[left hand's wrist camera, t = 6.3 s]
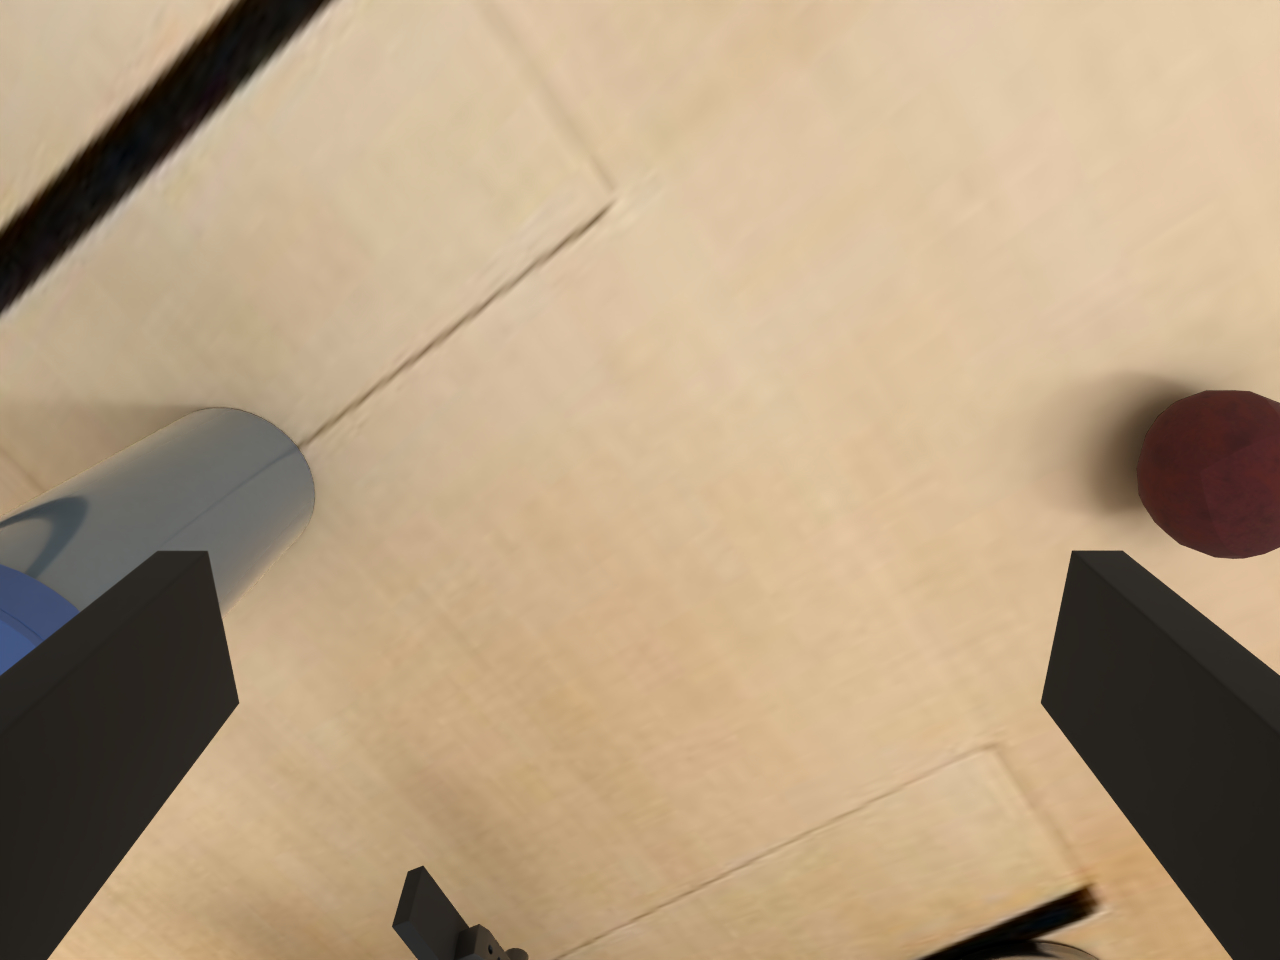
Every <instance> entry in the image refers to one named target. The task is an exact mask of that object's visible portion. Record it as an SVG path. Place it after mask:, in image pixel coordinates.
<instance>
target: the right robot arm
mask: <svg viewBox="0 0 1280 960" xmlns="http://www.w3.org/2000/svg"><path fill="white" fill-rule="evenodd" d="M392 927H393V929H394V930H395V931H396V932H397V934H398V935H399V936H400V937H401V939H402V940H403V941H404V942H405V944H406V945H407V946H408V948H409V949H410V950H411V951H412V953H413V954H414V955H415V956H416V958H417V959H418V960H528V954H527V953H526V952H525V951H524V950H522V949H519V948H512V949H509V950H507V951H506V952H504V950H503V949H502V948H501V946H499V943H498V942H497V941H496V940H495V938H494V937H493V935H492V934H491V932H490V931H489V930H488V929H486V928H485V927H483V926H481V925H480V924H478V925H476V926H473V927H470V928H469V927H468V925H467V924H466V923H465V921H464V920H463V919H462V917H461V916H460V915H459V913H458V912H457V910H456V909H455V908H454V906H453V905H452V904H451V902H450V901H449V900H448V898H447V897H446V896H445V894H444V893H443V892H442V890H441V889H440V888H439V886H438V885H437V884H436V882H435V881H434V879H433V878H432V877H431V875H430V874H429V873H428V871H427V870H426V869H425V867H424V866H421V867H418V868H416V869H413V870H411V871H408V873H407V876H406V880H405V883H404V887H403V890H402V894H401V897H400V901H399V904H398V908H397V911H396V915H395V918H394V922H393V925H392ZM958 960H1098V959H1096V958H1095V957H1093V956H1091V955H1089V954H1087V953H1085V952H1082V951H1080V950H1077V949H1074V948H1070V947H1067V946H1062V945H1057V944H1050V943H1037V942H1028V943H1013V944H1006V945H1000V946H995V947H991V948H987V949H983V950H980V951H977V952H974V953H972V954H969V955H966V956H964V957H962V958H960V959H958Z"/></svg>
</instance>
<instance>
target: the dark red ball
mask: <svg viewBox="0 0 1280 960" xmlns="http://www.w3.org/2000/svg"><path fill="white" fill-rule="evenodd" d="M1137 478H1138V491H1139V496H1140V498H1141V500H1142V503H1143V505H1144V506H1145V508H1146V509H1147V511H1148V512H1149V514H1150V516H1151V517H1152V519H1153V520H1154V522H1155V523H1156V524H1157V525H1158V526H1159V527H1161V528H1162V529H1163V530H1164V531H1165V532H1166V533H1167V534H1168V535H1169V536H1171V537H1172V538H1173V539H1174V540H1176V541H1177V542H1178V543H1179V544H1181V545H1184V546H1186V547H1189V548H1191V549H1194V550H1197V551H1199V552H1202V553H1205V554H1207V555H1210V556H1213V557H1218V558H1231V559H1238V558H1248V557H1253V556H1257V555H1262V554H1265V553H1268V552H1270V551H1272V550H1275V549H1277V548H1279V547H1280V403H1278V402H1276V401H1273V400H1271V399H1268V398H1266V397H1263V396H1261V395H1258V394H1256V393H1253V392H1250V391H1236V390H1224V391H1204V392H1201V393H1198V394H1195V395H1192V396H1189V397H1187V398H1184V399H1181V400H1179V401H1177V402H1175V403H1174V404H1172V405H1171V406H1170V407H1169V408H1168V409H1166V410H1165V411H1164V412H1163V413H1161V414H1160V415H1159V416H1158V417H1157V419H1156V420H1155V422H1154V423H1153V425H1152V426H1151V428H1150V429H1149V431H1148V432H1147V434H1146V437H1145V440H1144V444H1143V447H1142V451H1141V454H1140V458H1139V461H1138V466H1137Z"/></svg>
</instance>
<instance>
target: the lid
mask: <svg viewBox="0 0 1280 960" xmlns="http://www.w3.org/2000/svg"><path fill="white" fill-rule="evenodd" d="M78 613H80V611H79V610H78V609H77V608H76V607H75V606H74V605H73V604H71V603H70V602H69V601H67V600H66V599H65V598H64V597H62V596H61V595H60V594H58V593H57V592H56V591H54V590H53V589H51V588H49V587H48V586H46V585H45V584H43V583H41V582H40V581H38V580H36V579H34V578H32V577H30V576H28V575H26V574H24V573H22V572H20V571H18V570H15V569H13V568H10V567H7V566H5V565H2V564H0V675H2V674H3V673H4V672H5V671H7V670H8V669H9V668H10V667H12V666H13V665H14V664H15V663H17V662H18V661H19V660H21V659H22V658H23V657H24V656H26V655H27V654H28V653H29V652H31V651H32V650H33V649H34V648H36V647H37V646H38V645H39V644H41V643H42V642H43V641H44V640H46V639H47V638H48V637H49V636H51V635H52V634H53V633H55V632H56V631H57V630H58V629H60V628H61V627H62V626H63V625H65V624H66V623H67V622H68V621H70V620H71V619H72V618H73V617H75V616H76V615H77V614H78Z"/></svg>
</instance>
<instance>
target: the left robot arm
mask: <svg viewBox="0 0 1280 960" xmlns="http://www.w3.org/2000/svg"><path fill="white" fill-rule="evenodd" d="M238 704H239V700H238V695H237V690H236V685H235V680H234V675H233V670H232V665H231V661H230V656H229V651H228V646H227V641H226V636H225V631H224V626H223V622H222V617H221V612H220V607H219V602H218V597H217V592H216V587H215V582H214V578H213V573H212V568H211V563H210V558H209V553H208V551H157V552H155V553H154V554H153V555H151V556H150V557H149V558H148V559H146V560H145V561H144V562H143V563H141V564H140V565H139V566H138V567H136V568H135V569H134V570H133V571H131V572H130V573H129V574H128V575H126V576H125V577H124V578H123V579H121V580H120V581H119V582H117V583H116V584H115V585H114V586H112V587H111V588H110V589H109V590H107V591H106V592H105V593H104V594H102V595H101V596H100V597H99V598H97V599H96V600H95V601H94V602H92V603H91V604H90V605H89V606H87V607H86V608H85V609H83V610H82V611H81V612H80V613H78V614H77V615H76V616H75V617H73V618H72V619H71V620H70V621H68V622H67V623H66V624H65V625H63V626H62V627H61V628H60V629H58V630H57V631H56V632H55V633H53V634H52V635H51V636H49V637H48V638H47V639H46V640H44V641H43V642H42V643H41V644H39V645H38V646H37V647H36V648H34V649H33V650H32V651H31V652H29V653H28V654H27V655H26V656H24V657H23V658H22V659H21V660H19V661H18V662H17V663H15V664H14V665H13V666H12V667H10V668H9V669H8V670H7V671H5V672H4V673H3V674H2V675H0V960H47V959H48V958H49V956H50V955H51V954H52V952H53V951H54V950H55V948H56V947H57V946H58V944H59V943H60V942H61V940H62V939H63V938H64V936H65V935H66V934H67V932H68V931H69V930H70V928H71V927H72V926H73V924H74V923H75V922H76V920H77V919H78V918H79V916H80V915H81V914H82V912H83V911H84V910H85V908H86V907H87V906H88V904H89V903H90V902H91V900H92V899H93V898H94V896H95V895H96V894H97V892H98V891H99V890H100V888H101V887H102V886H103V884H104V883H105V882H106V880H107V879H108V878H109V876H110V875H111V874H112V872H113V871H114V870H115V868H116V867H117V866H118V864H119V863H120V862H121V860H122V859H123V858H124V856H125V855H126V854H127V852H128V851H129V850H130V848H131V847H132V846H133V844H134V843H135V842H136V840H137V839H138V838H139V836H140V835H141V834H142V832H143V831H144V830H145V828H146V827H147V826H148V824H149V823H150V822H151V820H152V819H153V818H154V816H155V815H156V814H157V812H158V811H159V810H160V808H161V807H162V806H163V804H164V803H165V802H166V800H167V799H168V798H169V796H170V795H171V793H172V792H173V791H174V789H175V788H176V787H177V785H178V784H179V783H180V781H181V780H182V779H183V777H184V776H185V775H186V773H187V772H188V771H189V769H190V768H191V767H192V765H193V764H194V763H195V761H196V760H197V759H198V757H199V756H200V755H201V753H202V752H203V751H204V749H205V748H206V747H207V745H208V744H209V743H210V741H211V740H212V739H213V737H214V736H215V735H216V733H217V732H218V731H219V729H220V728H221V727H222V725H223V724H224V723H225V721H226V720H227V719H228V717H229V716H230V715H231V713H232V712H233V711H234V709H235V708H236V707H237V705H238ZM1041 704H1042V705H1043V707H1044V708H1045V709H1046V711H1047V712H1048V713H1049V715H1050V716H1051V717H1052V719H1053V720H1054V721H1055V723H1056V724H1057V725H1058V727H1059V728H1060V729H1061V731H1062V732H1063V733H1064V735H1065V736H1066V737H1067V739H1068V740H1069V741H1070V743H1071V744H1072V745H1073V747H1074V748H1075V749H1076V751H1077V752H1078V753H1079V755H1080V756H1081V757H1082V759H1083V760H1084V761H1085V763H1086V764H1087V765H1088V767H1089V768H1090V769H1091V771H1092V772H1093V773H1094V775H1095V776H1096V777H1097V779H1098V780H1099V781H1100V783H1101V784H1102V785H1103V787H1104V788H1105V789H1106V791H1107V792H1108V793H1109V795H1110V796H1111V798H1112V799H1113V800H1114V802H1115V803H1116V804H1117V806H1118V807H1119V808H1120V810H1121V811H1122V812H1123V814H1124V815H1125V816H1126V818H1127V819H1128V820H1129V822H1130V823H1131V824H1132V826H1133V827H1134V828H1135V830H1136V831H1137V832H1138V834H1139V835H1140V836H1141V838H1142V839H1143V840H1144V842H1145V843H1146V844H1147V846H1148V847H1149V848H1150V850H1151V851H1152V852H1153V854H1154V855H1155V856H1156V858H1157V859H1158V860H1159V862H1160V863H1161V864H1162V866H1163V867H1164V868H1165V870H1166V871H1167V872H1168V874H1169V875H1170V876H1171V878H1172V879H1173V880H1174V882H1175V883H1176V884H1177V886H1178V887H1179V888H1180V890H1181V891H1182V892H1183V894H1184V895H1185V896H1186V898H1187V899H1188V900H1189V902H1190V903H1191V904H1192V906H1193V907H1194V908H1195V910H1196V911H1197V912H1198V914H1199V915H1200V916H1201V918H1202V919H1203V920H1204V922H1205V923H1206V924H1207V926H1208V927H1209V928H1210V930H1211V931H1212V932H1213V934H1214V935H1215V936H1216V938H1217V939H1218V940H1219V942H1220V943H1221V944H1222V946H1223V947H1224V948H1225V950H1226V951H1227V952H1228V954H1229V955H1230V956H1231V958H1232V959H1233V960H1280V675H1278V674H1277V673H1276V672H1275V671H1273V670H1272V669H1271V668H1270V667H1268V666H1267V665H1266V664H1265V663H1263V662H1262V661H1261V660H1259V659H1258V658H1257V657H1256V656H1254V655H1253V654H1252V653H1251V652H1249V651H1248V650H1247V649H1246V648H1244V647H1243V646H1242V645H1241V644H1239V643H1238V642H1237V641H1236V640H1234V639H1233V638H1232V637H1231V636H1229V635H1228V634H1227V633H1225V632H1224V631H1223V630H1222V629H1220V628H1219V627H1218V626H1217V625H1215V624H1214V623H1213V622H1212V621H1210V620H1209V619H1208V618H1207V617H1205V616H1204V615H1203V614H1202V613H1200V612H1199V611H1198V610H1197V609H1195V608H1194V607H1193V606H1191V605H1190V604H1189V603H1188V602H1186V601H1185V600H1184V599H1183V598H1181V597H1180V596H1179V595H1178V594H1176V593H1175V592H1174V591H1173V590H1171V589H1170V588H1169V587H1168V586H1166V585H1165V584H1164V583H1163V582H1161V581H1160V580H1159V579H1157V578H1156V577H1155V576H1154V575H1152V574H1151V573H1150V572H1149V571H1147V570H1146V569H1145V568H1144V567H1142V566H1141V565H1140V564H1139V563H1137V562H1136V561H1135V560H1134V559H1132V558H1131V557H1130V556H1129V555H1127V554H1126V553H1125V552H1123V551H1072V553H1071V558H1070V563H1069V568H1068V573H1067V578H1066V582H1065V587H1064V592H1063V597H1062V602H1061V607H1060V612H1059V617H1058V621H1057V626H1056V631H1055V636H1054V641H1053V646H1052V651H1051V656H1050V661H1049V665H1048V670H1047V675H1046V680H1045V685H1044V690H1043V695H1042V700H1041Z"/></svg>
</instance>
